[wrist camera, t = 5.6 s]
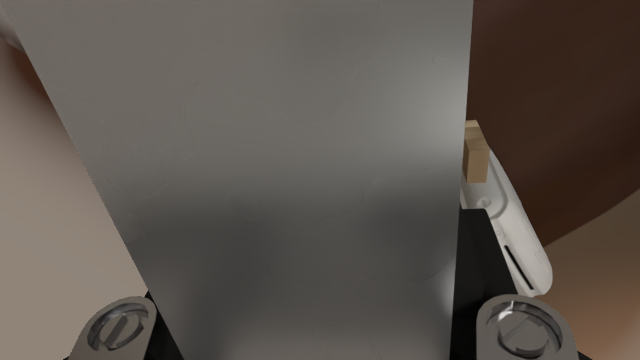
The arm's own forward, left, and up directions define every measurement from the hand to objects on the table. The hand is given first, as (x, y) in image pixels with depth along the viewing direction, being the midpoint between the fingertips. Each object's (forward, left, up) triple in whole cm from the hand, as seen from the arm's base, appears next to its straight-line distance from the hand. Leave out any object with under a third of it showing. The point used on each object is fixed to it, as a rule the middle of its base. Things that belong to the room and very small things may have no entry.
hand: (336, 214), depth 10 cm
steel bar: (0, 0, +1) cm, 1 cm away
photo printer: (-11, +18, -28) cm, 35 cm away
